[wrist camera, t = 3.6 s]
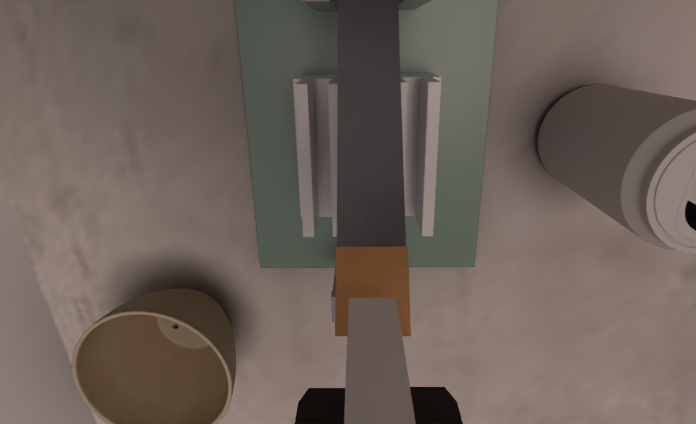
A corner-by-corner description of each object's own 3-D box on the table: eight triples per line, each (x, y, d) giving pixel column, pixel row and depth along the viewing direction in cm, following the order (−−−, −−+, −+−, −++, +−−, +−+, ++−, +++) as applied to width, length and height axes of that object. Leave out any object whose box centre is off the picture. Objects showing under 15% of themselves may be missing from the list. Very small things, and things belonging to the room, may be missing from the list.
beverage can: (534, 188, 31) (634, 273, 20) (532, 91, 29) (643, 125, 17) (632, 174, 30) (792, 254, 19) (638, 74, 28) (823, 98, 17)
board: (233, -53, 26) (179, -93, 18) (498, -60, 26) (560, -104, 18) (263, 261, 33) (232, 331, 25) (471, 260, 33) (506, 331, 25)
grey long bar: (338, -25, 21) (336, -57, 19) (395, -26, 21) (398, -59, 19) (336, 335, 17) (333, 336, 15) (407, 335, 17) (412, 335, 15)
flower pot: (241, 251, 33) (211, 305, 26) (267, 364, 36) (246, 437, 30) (109, 264, 34) (47, 321, 27) (146, 374, 37) (99, 447, 30)
